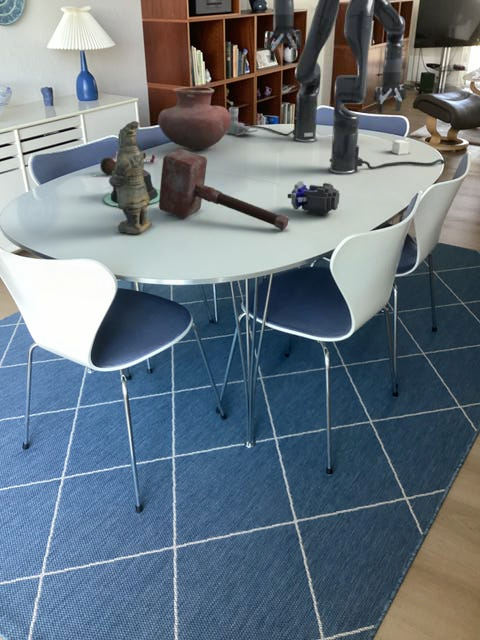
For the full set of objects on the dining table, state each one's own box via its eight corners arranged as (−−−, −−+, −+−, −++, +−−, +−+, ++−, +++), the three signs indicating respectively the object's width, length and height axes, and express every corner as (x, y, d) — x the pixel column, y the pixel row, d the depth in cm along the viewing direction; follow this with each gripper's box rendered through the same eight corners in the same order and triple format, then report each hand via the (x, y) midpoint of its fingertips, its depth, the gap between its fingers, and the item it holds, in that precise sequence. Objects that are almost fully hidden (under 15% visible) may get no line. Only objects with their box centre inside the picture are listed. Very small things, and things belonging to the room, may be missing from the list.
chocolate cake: (91, 202, 180) (113, 186, 197) (142, 231, 182) (160, 212, 199) (107, 162, 172) (129, 148, 190) (160, 192, 174) (177, 176, 192)
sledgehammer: (299, 190, 156) (179, 147, 167) (285, 200, 148) (161, 154, 160) (286, 244, 166) (174, 200, 177) (272, 256, 158) (156, 209, 170)
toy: (295, 178, 172) (342, 184, 166) (295, 205, 177) (340, 211, 171) (285, 186, 166) (333, 192, 160) (284, 213, 170) (331, 220, 164)
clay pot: (236, 141, 255) (235, 83, 242) (223, 158, 229) (221, 93, 216) (172, 140, 260) (168, 82, 247) (152, 156, 234) (146, 93, 221)
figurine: (161, 151, 222) (115, 157, 203) (161, 170, 225) (116, 178, 206) (137, 147, 228) (90, 152, 209) (137, 166, 232) (91, 173, 212)
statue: (131, 220, 168) (117, 116, 152) (158, 224, 164) (147, 118, 149) (109, 233, 159) (93, 124, 144) (138, 237, 156) (124, 126, 140)
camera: (234, 105, 269) (258, 109, 260) (235, 130, 275) (258, 135, 266) (222, 108, 263) (246, 112, 254) (223, 134, 269) (246, 138, 260)
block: (401, 150, 235) (402, 139, 232) (408, 153, 231) (409, 142, 228) (391, 151, 234) (392, 140, 231) (398, 154, 229) (399, 143, 227)
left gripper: (401, 68, 234) (397, 108, 242) (372, 71, 230) (369, 112, 238) (412, 69, 228) (408, 111, 236) (382, 72, 224) (378, 114, 232)
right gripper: (297, 12, 211) (295, 59, 219) (262, 13, 207) (262, 61, 215) (305, 12, 205) (303, 60, 213) (269, 13, 201) (269, 62, 209)
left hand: (388, 111), depth 237 cm, fingers open, 8 cm apart
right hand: (282, 60), depth 214 cm, fingers open, 8 cm apart
